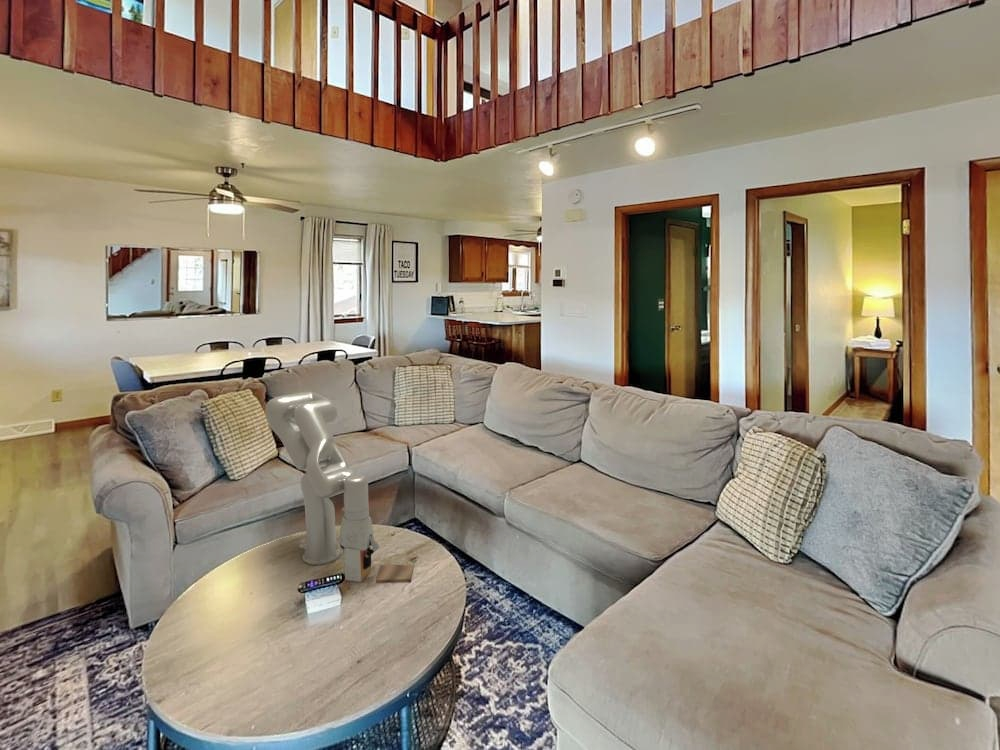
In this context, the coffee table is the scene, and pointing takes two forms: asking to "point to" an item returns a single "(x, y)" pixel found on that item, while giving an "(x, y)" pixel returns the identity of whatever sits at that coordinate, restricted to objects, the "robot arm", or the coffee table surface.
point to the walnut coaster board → (394, 573)
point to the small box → (355, 565)
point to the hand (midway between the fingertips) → (358, 564)
